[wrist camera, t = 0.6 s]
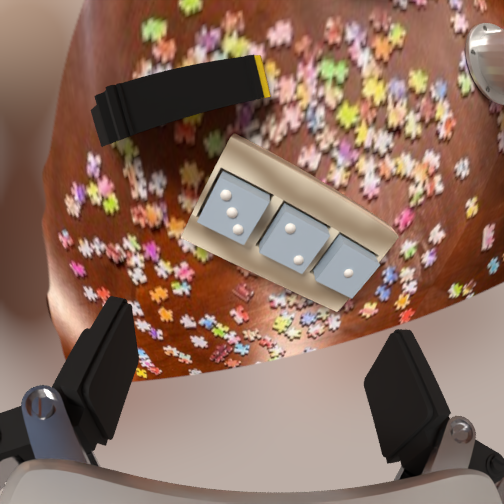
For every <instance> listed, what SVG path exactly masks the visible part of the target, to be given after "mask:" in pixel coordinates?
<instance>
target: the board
mask: <svg viewBox="0 0 504 504" xmlns="http://www.w3.org/2000/svg"><path fill="white" fill-rule="evenodd" d="M223 171H224V172H226V173H228V174H230V175H232V176H234V177H236V178H238V179H240V180H242V181H244V182H246V183H248V184H250V185H251V186H253V187H255V188H257V189H259V190H261V191H263V192H265V193H267V194H269V195H270V203H269V204H268V206H267V208H266V209H265V211H264V213H263V214H262V216H261V217H260V219H259V221H258V222H257V224H256V226H255V227H254V229H253V231H252V232H251V234H250V236H249V237H248V239H247V241H246V242H245V244H244V245H242V244H240V243H238V242H236V241H234V240H232V239H230V238H228V237H226V236H224V235H222V234H220V233H218V232H216V231H214V230H212V229H210V228H208V227H206V226H204V225H202V224H200V223H198V222H197V221H198V219H199V217H200V215H201V213H202V211H203V209H204V207H205V205H206V203H207V201H208V199H209V197H210V195H211V193H212V191H213V189H214V187H215V185H216V183H217V181H218V179H219V177H220V175H221V174H222V172H223ZM284 203H285V204H287V205H289V206H291V207H293V208H294V209H296V210H298V211H300V212H302V213H303V214H305V215H307V216H309V217H311V218H312V219H314V220H316V221H318V222H319V223H321V224H323V225H325V226H326V227H327V229H328V231H329V234H330V237H329V238H328V240H327V241H326V242H325V244H324V245H323V247H322V248H321V249H320V251H319V252H318V253H317V255H316V256H315V257H314V259H313V260H312V262H311V263H310V264H309V266H308V267H307V268H306V270H305V271H304V272H303V274H301V273H299V272H297V271H295V270H293V269H291V268H289V267H287V266H285V265H283V264H281V263H279V262H277V261H275V260H273V259H271V258H269V257H267V256H265V255H263V254H261V253H259V245H260V241H261V240H262V238H263V237H264V235H265V233H266V232H267V230H268V229H269V227H270V225H271V224H272V222H273V221H274V219H275V217H276V216H277V214H278V213H279V211H280V209H281V208H282V206H283V205H284ZM339 234H340V235H342V236H344V237H345V238H347V239H349V240H351V241H352V242H354V243H356V244H357V245H359V246H361V247H362V248H364V249H366V250H367V251H369V252H371V253H372V254H374V255H375V257H376V258H377V260H378V262H380V261H381V259H382V258H383V257H384V256H385V254H386V253H387V252H388V250H389V249H390V248H391V247H392V245H393V244H394V243H395V241H396V240H397V239H398V237H399V236H398V235H397V233H396V232H395V231H394V230H393V228H392V227H391V226H390V225H389V224H388V223H386V222H385V221H383V220H382V219H380V218H379V217H377V216H376V215H374V214H373V213H371V212H370V211H368V210H367V209H365V208H364V207H362V206H361V205H359V204H357V203H356V202H354V201H353V200H351V199H350V198H348V197H347V196H345V195H343V194H342V193H340V192H339V191H337V190H335V189H334V188H332V187H330V186H329V185H327V184H325V183H324V182H322V181H320V180H319V179H317V178H315V177H314V176H312V175H310V174H309V173H307V172H305V171H304V170H302V169H300V168H298V167H297V166H295V165H293V164H291V163H290V162H288V161H286V160H284V159H282V158H281V157H279V156H277V155H275V154H273V153H271V152H270V151H268V150H266V149H264V148H262V147H260V146H258V145H256V144H255V143H253V142H251V141H249V140H247V139H245V138H243V137H241V136H239V135H237V134H235V133H234V134H233V135H232V136H231V137H230V139H229V141H228V143H227V145H226V147H225V149H224V150H223V152H222V154H221V156H220V158H219V160H218V162H217V164H216V166H215V168H214V170H213V172H212V174H211V176H210V178H209V180H208V182H207V184H206V186H205V188H204V190H203V192H202V194H201V196H200V198H199V200H198V202H197V204H196V206H195V208H194V210H193V212H192V215H191V217H190V219H189V221H188V223H187V225H186V227H185V229H184V232H183V234H182V236H181V238H182V239H184V240H186V241H188V242H190V243H192V244H194V245H196V246H198V247H200V248H202V249H204V250H207V251H209V252H211V253H213V254H215V255H217V256H219V257H221V258H223V259H225V260H227V261H229V262H231V263H234V264H236V265H238V266H240V267H242V268H244V269H246V270H248V271H250V272H252V273H255V274H257V275H259V276H261V277H263V278H265V279H267V280H269V281H271V282H274V283H276V284H278V285H280V286H282V287H284V288H286V289H288V290H291V291H293V292H295V293H297V294H299V295H301V296H303V297H306V298H308V299H310V300H312V301H314V302H316V303H319V304H321V305H323V306H325V307H327V308H329V309H332V310H334V311H336V312H338V311H339V309H340V308H341V307H342V306H343V305H344V304H345V303H346V301H347V300H348V299H349V297H347V296H345V295H343V294H341V293H339V292H337V291H335V290H333V289H331V288H329V287H327V286H325V285H323V284H321V283H319V282H317V281H316V280H315V276H314V271H313V269H314V268H315V267H316V265H317V264H318V263H319V261H320V260H321V259H322V257H323V256H324V255H325V253H326V252H327V251H328V249H329V248H330V246H331V245H332V244H333V242H334V241H335V240H336V238H337V237H338V235H339Z"/></svg>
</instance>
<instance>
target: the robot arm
mask: <svg viewBox="0 0 504 504" xmlns="http://www.w3.org/2000/svg"><path fill="white" fill-rule="evenodd" d="M465 50H466V59H467V64H468V67H469V70H470V73H471V75H472V78H473V80H474V82H475V83H476V85H477V87H478V88H479V89H480V91H481V92H482V93H483V94H484V95H485V96H486V97H487V98H488V99H489V100H491V101H493V102H494V103H497V104H501V105H504V29H501V28H500V27H498V26H496V25H494V24H490V23H482V24H478V25H476V26H474V27H473V28H472V29H471V30H470V32H469V34H468V36H467V40H466V48H465ZM138 360H139V355H138V349H137V342H136V335H135V328H134V320H133V312H132V305H131V304H128V303H127V300H126V299H123V298H118V297H113V296H110V297H109V298H108V300H107V301H106V303H105V305H104V306H103V308H102V310H101V311H100V313H99V315H98V316H97V318H96V320H95V321H94V323H93V325H92V327H91V328H90V329H88V328H86V329H85V330H84V331H83V332H82V333H81V335H80V337H79V339H78V340H77V342H76V344H75V346H74V347H73V349H72V351H71V353H70V354H69V356H68V358H67V360H66V362H65V363H64V365H63V367H62V369H61V371H60V373H59V375H58V376H57V378H56V380H55V383H54V384H53V386H52V387H50V386H46V385H39V386H35V387H33V388H31V389H29V390H28V391H27V392H26V393H25V395H24V397H23V399H22V402H21V406H19V407H17V408H14V409H11V410H8V411H5V412H2V413H0V490H1V489H2V488H3V487H4V489H3V491H2V494H1V496H0V504H504V458H503V457H502V456H501V455H500V454H499V453H497V452H496V451H494V450H492V449H490V448H489V447H487V446H485V445H484V444H482V443H480V442H479V441H477V440H475V438H476V432H475V429H474V426H473V425H472V423H471V422H470V421H469V420H468V419H466V418H465V417H462V416H455V417H452V418H451V419H450V418H449V414H450V413H451V412H450V410H449V407H448V405H447V403H446V401H445V398H444V396H443V394H442V392H441V390H440V387H439V385H438V383H437V381H436V379H435V377H434V375H433V373H432V371H431V368H430V366H429V364H428V362H427V360H426V358H425V356H424V354H423V353H422V350H421V348H420V346H419V344H418V343H417V341H416V339H415V337H414V335H413V333H412V332H411V331H410V330H399V329H398V330H395V331H394V333H392V334H390V336H389V338H388V340H387V341H386V343H385V345H384V347H383V348H382V350H381V352H380V354H379V355H378V357H377V359H376V361H375V362H374V364H373V366H372V368H371V369H370V371H369V373H368V374H367V376H366V377H365V381H364V388H365V391H366V395H367V398H368V402H369V405H370V409H371V413H372V416H373V420H374V423H375V428H376V432H377V435H378V439H379V443H380V447H381V451H382V455H383V456H384V457H386V460H387V463H394V462H399V461H401V465H402V466H401V468H400V470H399V472H398V474H397V475H396V477H395V479H394V481H391V482H386V483H380V484H375V485H369V486H362V487H355V488H347V489H338V490H327V491H314V492H295V493H294V492H292V493H263V492H262V493H261V492H240V491H226V490H216V489H206V488H198V487H191V486H185V485H179V484H173V483H168V482H162V481H157V480H152V479H147V478H143V477H138V476H133V475H130V474H126V473H122V472H118V471H114V470H110V469H106V468H102V467H100V465H99V463H98V461H97V459H96V457H95V455H94V453H93V450H95V447H96V445H97V443H99V444H102V445H106V443H107V440H108V439H110V440H111V439H112V438H113V436H114V433H115V430H116V427H117V424H118V421H119V418H120V414H121V412H122V408H123V405H124V402H125V399H126V396H127V394H128V391H129V387H130V385H131V382H132V379H133V376H134V374H135V371H136V368H137V365H138ZM5 482H7V483H6V485H5V484H4V483H5Z"/></svg>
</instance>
